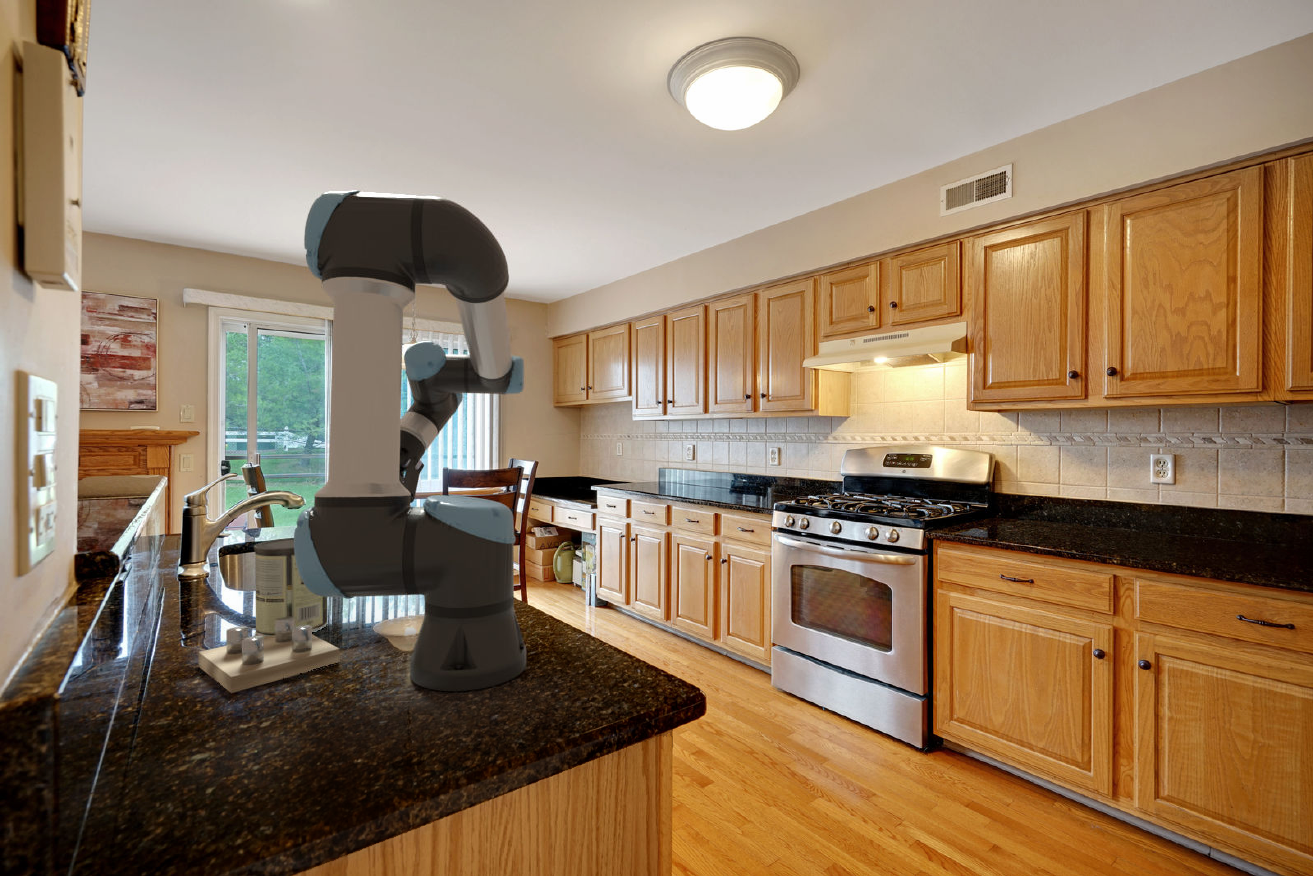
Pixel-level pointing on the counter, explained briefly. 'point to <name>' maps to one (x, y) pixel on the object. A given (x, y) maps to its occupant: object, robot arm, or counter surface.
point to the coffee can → (283, 589)
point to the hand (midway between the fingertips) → (342, 528)
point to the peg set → (255, 645)
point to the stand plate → (265, 663)
